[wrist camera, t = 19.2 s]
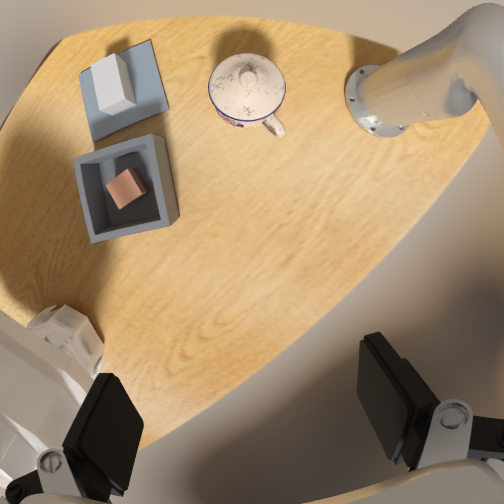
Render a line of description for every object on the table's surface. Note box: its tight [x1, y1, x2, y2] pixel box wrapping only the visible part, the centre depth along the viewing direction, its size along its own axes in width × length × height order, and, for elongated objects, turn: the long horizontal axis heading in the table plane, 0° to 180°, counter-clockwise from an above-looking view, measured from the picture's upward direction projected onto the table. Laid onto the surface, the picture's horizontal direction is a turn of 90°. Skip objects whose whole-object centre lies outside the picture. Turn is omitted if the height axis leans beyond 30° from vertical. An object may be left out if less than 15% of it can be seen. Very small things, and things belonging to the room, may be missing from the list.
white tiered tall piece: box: [0, 304, 105, 489], centre depth 30 cm, size 27×27×35 cm
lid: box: [79, 40, 169, 142], centre depth 33 cm, size 13×13×6 cm
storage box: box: [73, 133, 180, 243], centre depth 37 cm, size 12×12×7 cm
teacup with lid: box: [208, 53, 286, 138], centre depth 32 cm, size 12×9×12 cm
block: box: [106, 168, 150, 209], centre depth 37 cm, size 4×4×4 cm
